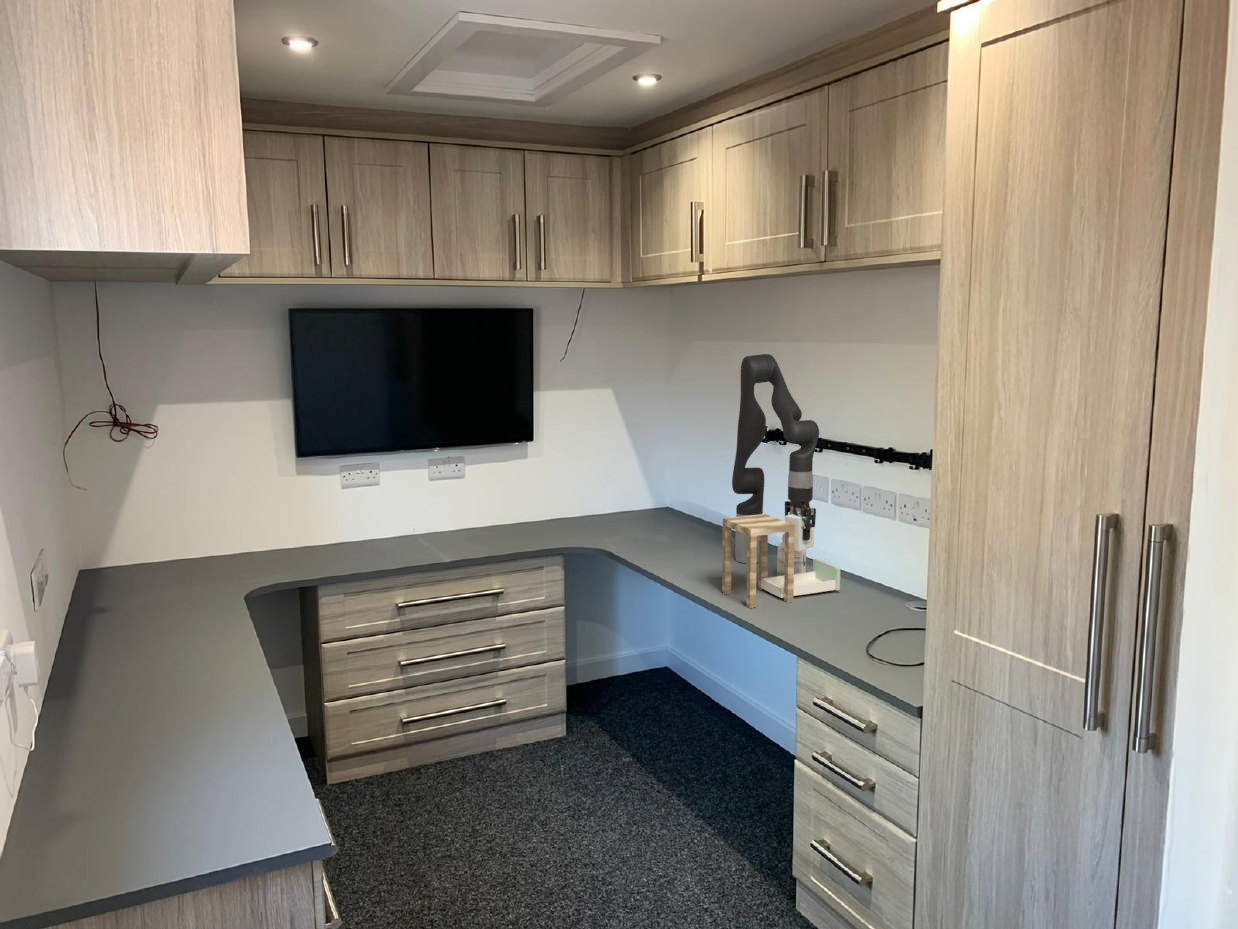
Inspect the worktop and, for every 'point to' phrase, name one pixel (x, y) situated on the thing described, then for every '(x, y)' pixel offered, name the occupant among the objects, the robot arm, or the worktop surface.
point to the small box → (800, 533)
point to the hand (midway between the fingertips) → (799, 537)
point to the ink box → (798, 559)
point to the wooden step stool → (753, 528)
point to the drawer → (807, 580)
